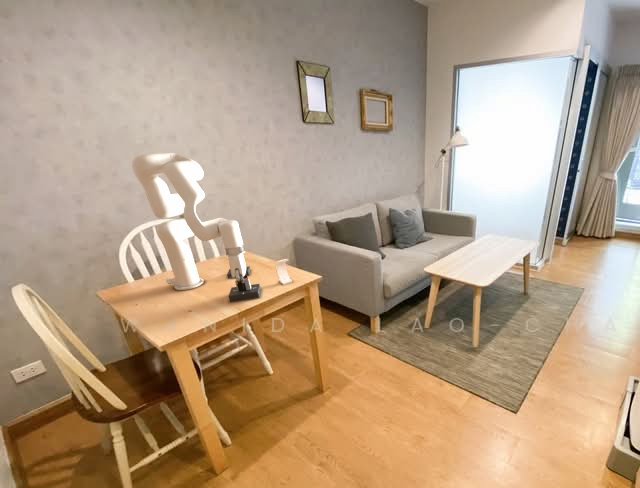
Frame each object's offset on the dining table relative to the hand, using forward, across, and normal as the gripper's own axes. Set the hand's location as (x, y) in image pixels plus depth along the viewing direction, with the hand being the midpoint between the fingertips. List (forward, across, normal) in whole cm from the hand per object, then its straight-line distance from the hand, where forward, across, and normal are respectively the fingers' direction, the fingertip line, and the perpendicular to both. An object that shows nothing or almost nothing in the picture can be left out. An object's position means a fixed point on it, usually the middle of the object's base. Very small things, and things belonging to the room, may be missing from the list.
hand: (243, 287), depth 147 cm
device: (+4, 0, 0) cm, 4 cm away
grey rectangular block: (+1, 0, 0) cm, 1 cm away
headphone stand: (+5, -10, +17) cm, 20 cm away
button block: (+4, -28, -6) cm, 29 cm away
